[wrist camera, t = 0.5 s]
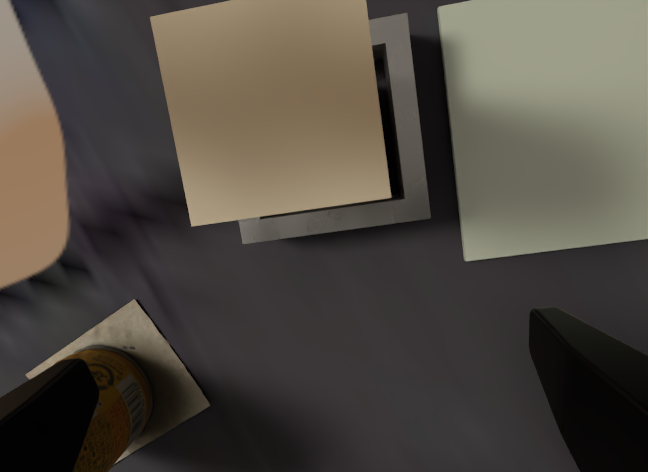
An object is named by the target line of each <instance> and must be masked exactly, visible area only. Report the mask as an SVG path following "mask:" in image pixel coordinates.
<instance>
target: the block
mask: <svg viewBox="0 0 648 472" xmlns="http://www.w3.org/2000/svg"><path fill="white" fill-rule="evenodd" d="M150 19H151V24H152V29H153V35H154V40H155V45H156V50H157V55H158V60H159V65H160V70H161V75H162V80H163V85H164V90H165V95H166V100H167V105H168V110H169V115H170V120H171V125H172V130H173V135H174V140H175V145H176V150H177V155H178V160H179V165H180V170H181V175H182V181H183V186H184V191H185V196H186V201H187V206H188V211H189V216H190V221H191V226H198V225H205V224H212V223H219V222H226V221H233V220H240V219H247V218H254V217H261V216H268V215H275V214H282V213H289V212H296V211H303V210H310V209H317V208H324V207H331V206H338V205H345V204H352V203H359V202H366V201H372V200H379V199H386V198H391V190H390V183H389V175H388V167H387V160H386V152H385V144H384V136H383V129H382V121H381V113H380V105H379V98H378V90H377V82H376V75H375V67H374V59H373V51H372V44H371V36H370V28H369V20H368V13H367V5H366V0H231V1H226V2H221V3H216V4H211V5H206V6H201V7H196V8H191V9H187V10H182V11H177V12H172V13H167V14H162V15H157V16H152V17H150Z"/></svg>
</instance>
